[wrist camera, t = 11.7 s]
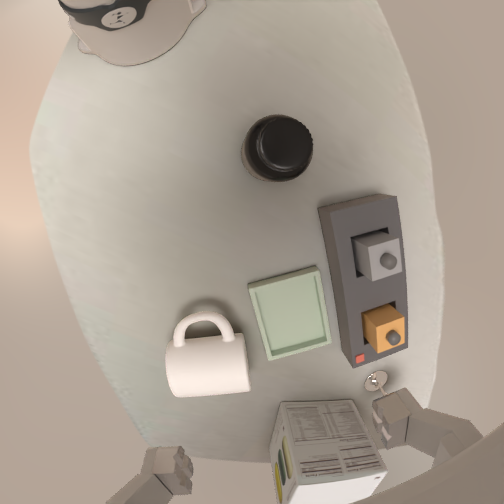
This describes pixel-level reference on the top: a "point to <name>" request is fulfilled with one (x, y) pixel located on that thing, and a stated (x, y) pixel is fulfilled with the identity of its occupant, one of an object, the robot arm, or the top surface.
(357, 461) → the supplement box
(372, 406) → the robot arm
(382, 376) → the wineglass
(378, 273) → the gray knobbed block
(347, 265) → the strip
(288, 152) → the supplement bottle
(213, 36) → the top surface
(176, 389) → the mug
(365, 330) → the plug
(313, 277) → the tray
